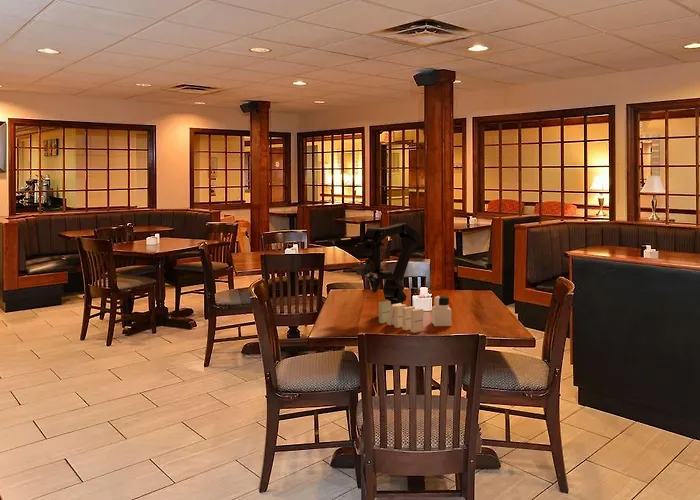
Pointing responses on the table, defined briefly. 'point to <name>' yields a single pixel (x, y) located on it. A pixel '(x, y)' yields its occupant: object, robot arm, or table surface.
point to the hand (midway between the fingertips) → (374, 292)
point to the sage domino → (384, 311)
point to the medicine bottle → (441, 311)
